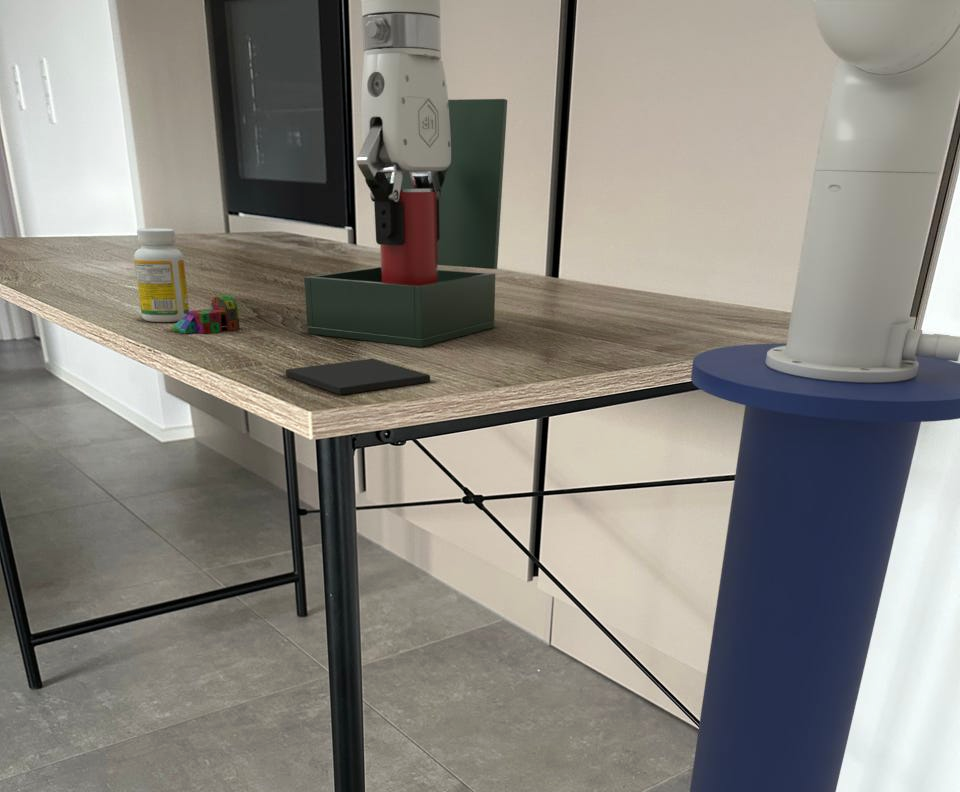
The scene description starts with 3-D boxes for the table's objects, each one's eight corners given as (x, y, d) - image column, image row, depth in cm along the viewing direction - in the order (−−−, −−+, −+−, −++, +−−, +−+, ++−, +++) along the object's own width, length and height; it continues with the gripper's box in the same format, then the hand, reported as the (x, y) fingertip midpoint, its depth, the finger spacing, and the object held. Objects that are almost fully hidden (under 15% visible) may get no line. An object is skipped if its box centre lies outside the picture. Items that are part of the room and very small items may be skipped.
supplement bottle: (162, 324, 106) (150, 231, 101) (132, 319, 108) (119, 229, 104) (200, 318, 110) (190, 229, 105) (170, 314, 112) (159, 227, 108)
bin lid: (504, 98, 98) (523, 105, 102) (388, 100, 104) (410, 106, 108) (494, 269, 104) (512, 269, 108) (385, 261, 111) (406, 261, 114)
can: (448, 288, 102) (446, 188, 98) (418, 293, 97) (415, 189, 93) (402, 285, 105) (398, 187, 100) (371, 290, 100) (366, 188, 96)
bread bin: (421, 347, 95) (420, 286, 93) (307, 333, 102) (303, 276, 99) (494, 327, 108) (495, 273, 105) (388, 316, 114) (387, 265, 111)
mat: (430, 382, 81) (430, 374, 80) (340, 395, 75) (339, 387, 75) (372, 365, 87) (372, 358, 86) (285, 376, 82) (285, 369, 81)
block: (218, 324, 106) (215, 293, 104) (239, 329, 104) (236, 296, 102) (171, 330, 102) (167, 297, 100) (192, 335, 100) (188, 301, 98)
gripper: (383, 28, 83) (392, 249, 91) (479, 48, 96) (479, 239, 104) (315, 33, 86) (330, 246, 94) (417, 52, 99) (422, 237, 107)
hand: (408, 240), depth 99 cm, fingers closed on can, 6 cm apart
